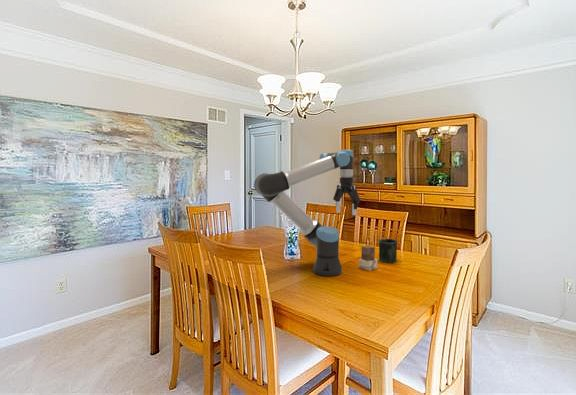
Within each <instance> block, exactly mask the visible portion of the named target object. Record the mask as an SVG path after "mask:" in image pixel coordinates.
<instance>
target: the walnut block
mask: <svg viewBox="0 0 576 395" xmlns="http://www.w3.org/2000/svg"><path fill="white" fill-rule="evenodd" d="M375 250H376V247H375V246H372V245H362V246H361V255H360V256H361V258H360V259H363V260H366V261H371V260H375V259H376V258H375V256H376V253H375V252H376V251H375Z"/></svg>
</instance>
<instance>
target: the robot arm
mask: <svg viewBox="0 0 576 395" xmlns="http://www.w3.org/2000/svg"><path fill="white" fill-rule="evenodd" d="M338 168H339V176H340V177H339V184H337V185H336V190H335V193H334V195H333V199H332V200H333V201H335V208H336V209H335V213H337V214H338V213H341V210H342V208H341V199H342V197H343V195H344V194H347V195H348V196H349V197H350V199H351V201H352V204H351V215H352V216H357V212H358V205H359V203H361V200H360V196H359V192H358V189H357V185H353V184H354V177H353V176H354V151H353V150H352V149H341V150H339V151H337V152H336V151H335V152H324V153H323V152H322V153H320V155H319V159H316V160H314V161H311V162H309V163H306V164H303V165H301V166H297V167H295V168H293V169H290V170H288V171H284V170H282V171H279V172H275V173H267V172H266V173H265V172H263V173H261V174H259V175H258V176H256V178H255V179H254V181H253V182H254V183H253V186H254V190H255V192H256V193H257V194H259V195H261V196H262V198H264V199H265V200H266V201H267V202H268V203H273V204H274V205H275V206H276V207H277V208H278V209H279V210H280V211H281V212H282V213H283V214H284V215H285V216H286V217H287V218H288V219H289V220H290V221H292V223H293V224H294V225H295V226H296V227H297V228H299V230H301V235H302V236H303V237H304V238H305V239H306V240H307V242H308V243H309V244H310V245H312V246H314V247H315V248H316V258H315V261H314V265H313V267H312V268H313V269H312V270H313V271H312V272H313V273H314V274H316V275H318V276H323V277H334V276H340V275H341V274H342V272H343V269H342V264H341V261H340V258H339V255H340V254H339V253H340V252H339V251H340V248H339V247H340V246H339V245H340V244H339V243H340V234H339V230H338V229H337V228H335V227H332V226H327V225H326V226H325V225H324V226H323V225H322V224H321V222H319V221H318V220H317V219H312V218H311V216H310V215H308V214H307V213H306V212H305V211H304V210H303V208H301V206H299V205H298V204H297V203H296V202H295V200H293V199H292V198H291V197H290V195H288V194H287V192H286V191H287V190H290V189H291V187H292V186H294V185H298V184H299V183H302V182H304V181H307V180H310V179H312V178H315V177H317V176H320V175H322V174H325V173H328V172H329V171H333V170H335V169H338Z"/></svg>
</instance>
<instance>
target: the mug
mask: <svg viewBox="0 0 576 395" xmlns="http://www.w3.org/2000/svg"><path fill="white" fill-rule="evenodd" d="M378 242H379V243H378V246H379V247H378V260H379V261H380V262H382V263H396V262H397V258H398V256H397V254H398V253H397V251H398V250H397V249H398V240H397V239H392V238H380V239H378Z"/></svg>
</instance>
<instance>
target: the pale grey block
mask: <svg viewBox="0 0 576 395" xmlns="http://www.w3.org/2000/svg"><path fill="white" fill-rule="evenodd" d="M358 268H359V269H363V270H365V271H373V270H375V269H378V259H377V258H375V260H371V261H366V260H363V259H361V258H359V259H358Z"/></svg>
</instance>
